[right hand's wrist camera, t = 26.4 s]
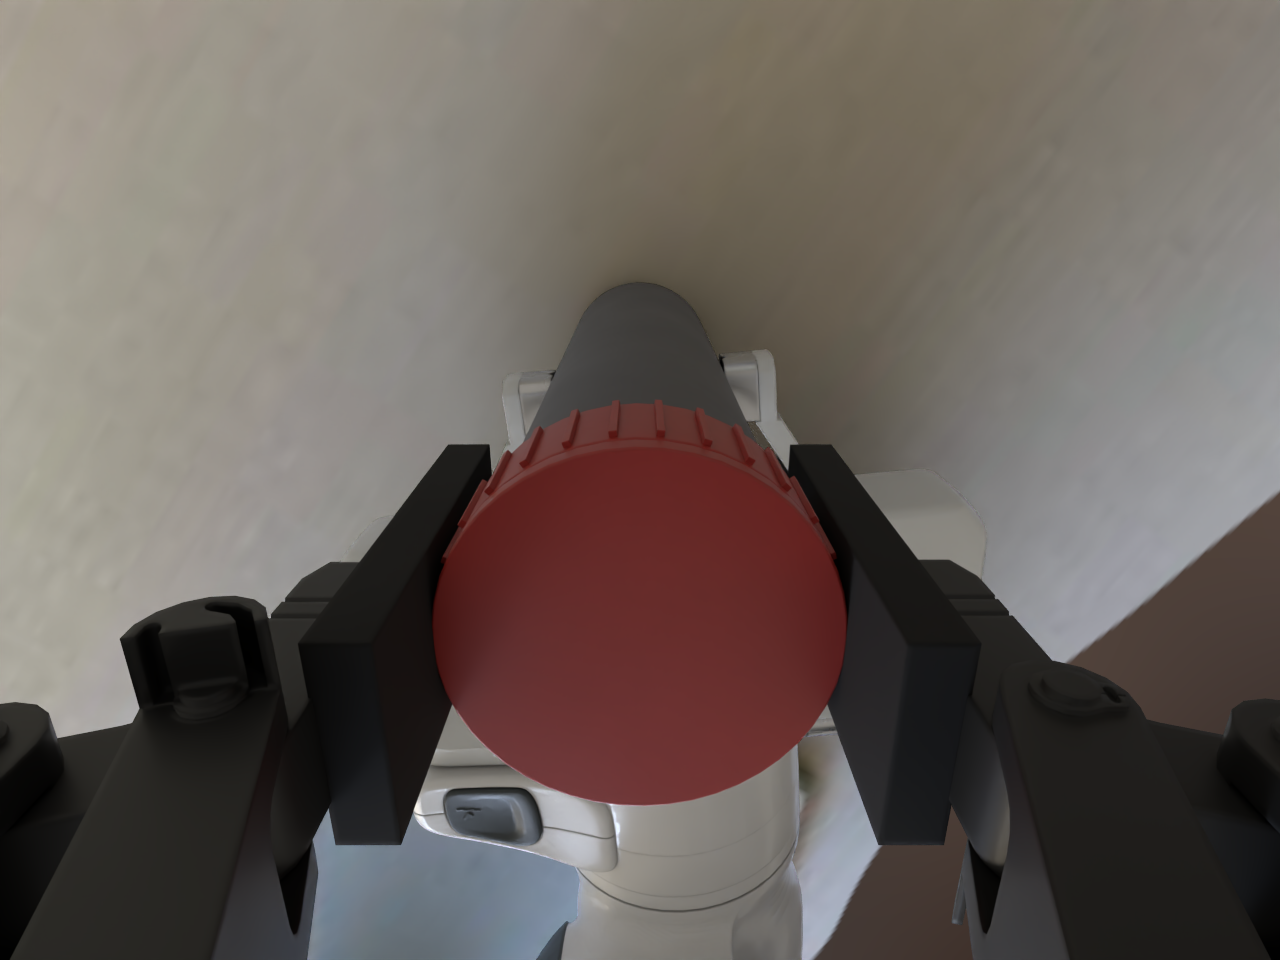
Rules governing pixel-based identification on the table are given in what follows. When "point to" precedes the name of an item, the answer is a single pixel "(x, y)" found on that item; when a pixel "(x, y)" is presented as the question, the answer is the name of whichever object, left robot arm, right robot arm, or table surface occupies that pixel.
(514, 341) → the table surface
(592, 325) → the dark grey bottle
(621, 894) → the left robot arm
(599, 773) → the lid
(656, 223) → the table surface
